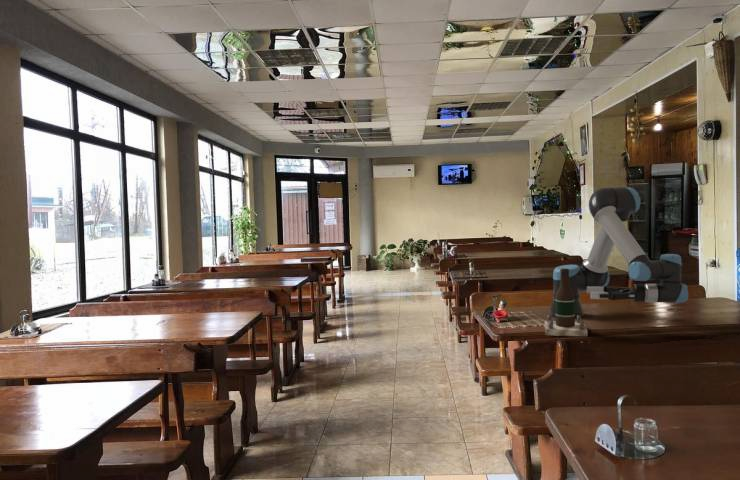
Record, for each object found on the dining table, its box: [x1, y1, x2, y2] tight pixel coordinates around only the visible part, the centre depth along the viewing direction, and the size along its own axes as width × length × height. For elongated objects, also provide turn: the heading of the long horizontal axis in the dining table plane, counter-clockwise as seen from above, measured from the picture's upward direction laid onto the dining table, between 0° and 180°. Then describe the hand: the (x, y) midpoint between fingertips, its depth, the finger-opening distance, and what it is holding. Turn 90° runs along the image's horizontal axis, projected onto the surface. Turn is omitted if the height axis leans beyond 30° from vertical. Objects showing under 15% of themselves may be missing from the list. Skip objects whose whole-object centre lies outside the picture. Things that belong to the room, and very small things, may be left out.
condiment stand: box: [544, 314, 588, 337], centre depth 244 cm, size 16×16×6 cm
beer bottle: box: [554, 268, 576, 327], centre depth 243 cm, size 8×8×24 cm
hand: (588, 292), depth 241 cm, fingers open, 13 cm apart
